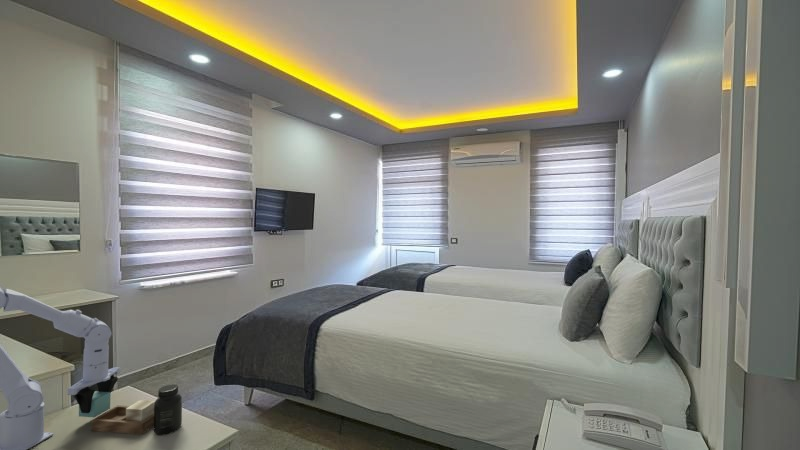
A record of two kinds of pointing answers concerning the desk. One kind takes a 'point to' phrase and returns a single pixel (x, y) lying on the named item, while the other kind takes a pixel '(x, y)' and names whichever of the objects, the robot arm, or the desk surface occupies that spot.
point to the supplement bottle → (167, 410)
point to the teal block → (98, 404)
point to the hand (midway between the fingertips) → (94, 407)
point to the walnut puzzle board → (120, 422)
